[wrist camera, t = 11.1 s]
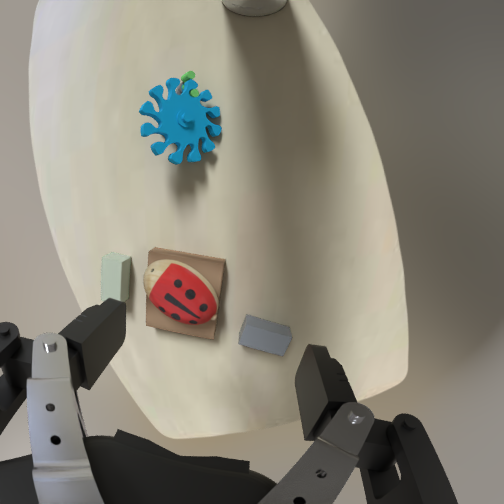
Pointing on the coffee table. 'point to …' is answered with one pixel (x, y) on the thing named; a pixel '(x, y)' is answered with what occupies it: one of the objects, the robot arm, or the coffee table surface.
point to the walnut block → (206, 267)
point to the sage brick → (115, 276)
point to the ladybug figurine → (180, 292)
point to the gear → (181, 118)
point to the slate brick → (264, 335)
